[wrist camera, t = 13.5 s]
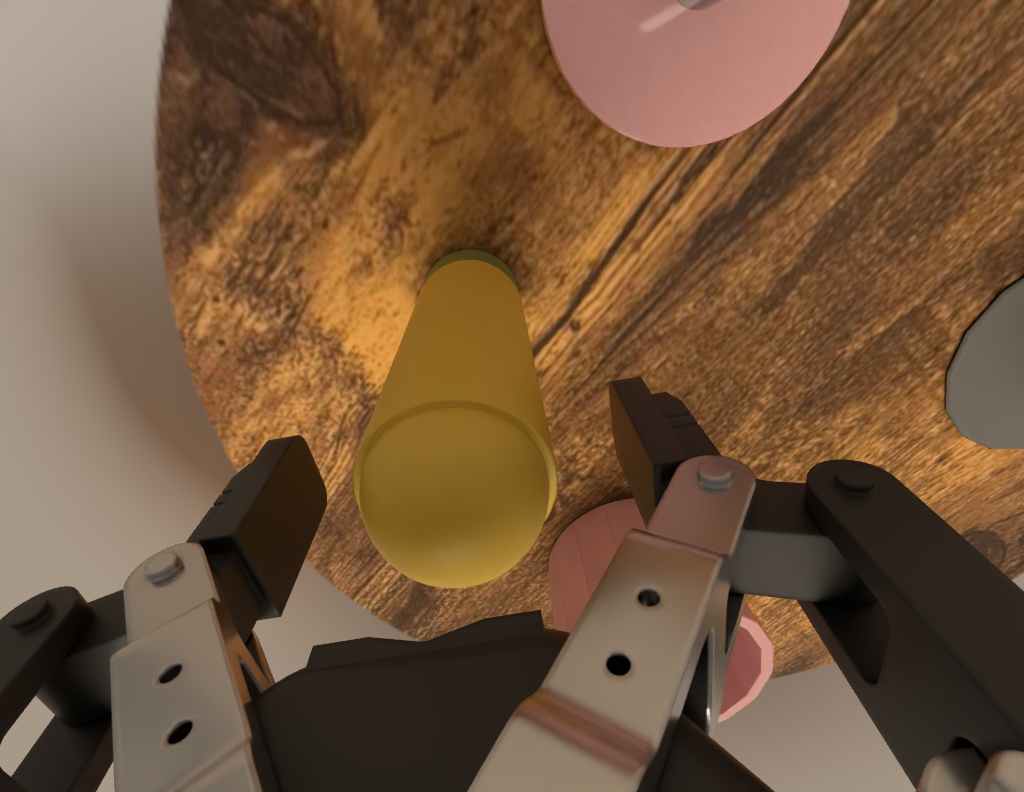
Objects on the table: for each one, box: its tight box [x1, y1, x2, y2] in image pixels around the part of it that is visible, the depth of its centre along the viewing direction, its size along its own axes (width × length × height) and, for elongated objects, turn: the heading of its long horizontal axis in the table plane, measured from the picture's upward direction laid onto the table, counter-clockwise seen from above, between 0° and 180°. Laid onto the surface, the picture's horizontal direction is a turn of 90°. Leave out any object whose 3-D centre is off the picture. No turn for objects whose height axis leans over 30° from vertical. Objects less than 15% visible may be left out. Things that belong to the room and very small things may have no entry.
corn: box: [352, 249, 558, 588], centre depth 16 cm, size 4×4×16 cm
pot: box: [547, 498, 774, 723], centre depth 28 cm, size 10×10×8 cm
